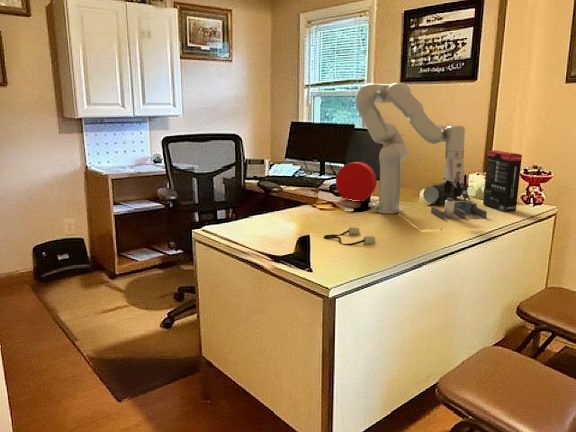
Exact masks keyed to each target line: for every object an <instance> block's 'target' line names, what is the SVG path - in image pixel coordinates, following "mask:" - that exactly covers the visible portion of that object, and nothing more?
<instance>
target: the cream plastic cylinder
mask: <svg viewBox="0 0 576 432" xmlns="http://www.w3.org/2000/svg"><path fill="white" fill-rule="evenodd" d="M455 201H456V200H455V199H453V198H447V200H445V201H444V211H443V212H445V215H444V216H445V217H453V216H454V205H455Z"/></svg>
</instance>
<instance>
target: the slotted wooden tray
mask: <svg viewBox="0 0 576 432" xmlns="http://www.w3.org/2000/svg"><path fill="white" fill-rule="evenodd" d="M454 201H455V205H454V216H453V217H445V216H444V215H445V212H444V211H443V210H442V209H439V208H438V207H436V206H433V205H432V206H430V207H431V209H430V213H431V214H432V215H434V216H435V217H437V218H439V219H441V220H442V221H443V220H445V221H446V220H447V221H449V220H453V221H454V220H488V218H487V214H488V211H486V210H484V209H483V208H480V207H478V206H477V205H478V203H475V202H473V201H472V200H470V201H469V200H465V201H463V200H454Z"/></svg>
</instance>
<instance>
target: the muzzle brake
mask: <svg viewBox="0 0 576 432" xmlns="http://www.w3.org/2000/svg"><path fill="white" fill-rule="evenodd" d="M450 184H452V191H451V193H444V182H440V183H435V184H434V183H433V184H430V185H427V186H426V188H425V189H424V190H423V194H422V195H423V199H424V200H425V201H426V202H427V203H429V204H432V205H433V204H435V205H439V204H441V202H445V200H447V198H453V200H455V199H457V198H458V197H454V196H453V192H454V187H455V186H454V182H451V183H450ZM456 184H457V183H456ZM463 191H466V186H465V183H463V184H462V188H461V196H463Z"/></svg>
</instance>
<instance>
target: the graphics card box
mask: <svg viewBox="0 0 576 432" xmlns="http://www.w3.org/2000/svg"><path fill="white" fill-rule="evenodd" d="M522 158H523V154H521V153H520V154H519V153H515V152H508V151H503V150H502V151H501V150H488V151H487V159H486V168H485V169H486V170H485V179H484V189H483V191H484V193H483V202H482V205H484V206H487V207H490V208H493V209H494V210H495V209H496V210H498V211H500V212H504V213H507V212H508V213H509V212H516V211H517V204H518V195H519V185H520V184H519V183H520V178H521V177H520V176H521V169H522Z"/></svg>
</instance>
